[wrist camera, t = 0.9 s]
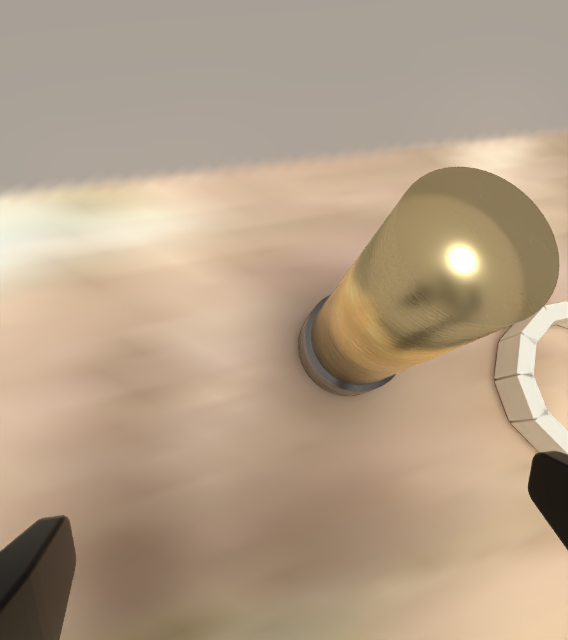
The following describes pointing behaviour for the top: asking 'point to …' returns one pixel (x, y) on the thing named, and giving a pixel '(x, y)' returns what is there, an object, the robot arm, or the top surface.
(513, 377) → the socket ring
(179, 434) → the top surface
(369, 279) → the tan cylindrical piece
